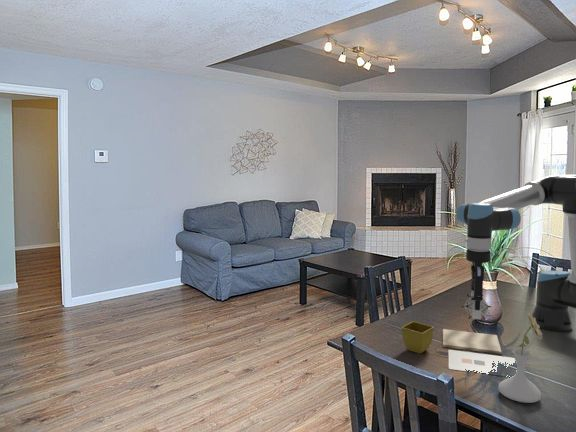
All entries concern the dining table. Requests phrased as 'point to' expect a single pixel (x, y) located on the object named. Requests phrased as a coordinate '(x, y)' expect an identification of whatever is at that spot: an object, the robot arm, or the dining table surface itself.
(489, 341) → the wooden pad
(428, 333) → the flower pot
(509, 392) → the flower in vase
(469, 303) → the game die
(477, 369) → the card
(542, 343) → the dining table surface
